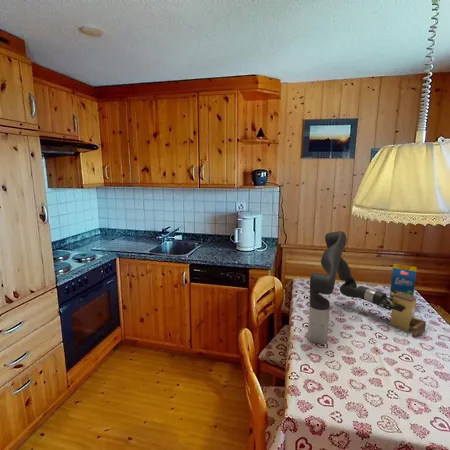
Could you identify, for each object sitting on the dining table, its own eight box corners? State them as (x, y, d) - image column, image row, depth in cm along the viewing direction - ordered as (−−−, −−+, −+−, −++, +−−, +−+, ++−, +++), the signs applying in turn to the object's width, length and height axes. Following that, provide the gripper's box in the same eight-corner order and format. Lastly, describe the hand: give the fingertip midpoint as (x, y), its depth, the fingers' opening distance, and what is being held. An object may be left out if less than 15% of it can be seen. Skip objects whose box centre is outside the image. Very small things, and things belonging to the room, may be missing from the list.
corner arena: (383, 324, 161) (384, 316, 160) (393, 318, 167) (394, 310, 166) (415, 337, 148) (416, 328, 147) (424, 330, 155) (426, 321, 154)
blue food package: (411, 309, 179) (416, 268, 174) (388, 304, 185) (393, 265, 180) (412, 305, 184) (417, 265, 179) (390, 300, 190) (394, 262, 185)
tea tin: (390, 324, 161) (393, 294, 157) (394, 321, 163) (398, 292, 160) (408, 331, 153) (412, 300, 150) (413, 328, 156) (416, 298, 153)
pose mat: (387, 324, 161) (387, 324, 161) (393, 320, 165) (393, 320, 165) (409, 333, 152) (409, 333, 152) (415, 329, 156) (415, 328, 156)
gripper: (369, 294, 163) (400, 304, 150) (382, 287, 172) (413, 297, 159) (368, 307, 165) (399, 318, 152) (381, 300, 173) (411, 310, 160)
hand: (406, 307), depth 155 cm, fingers open, 8 cm apart
